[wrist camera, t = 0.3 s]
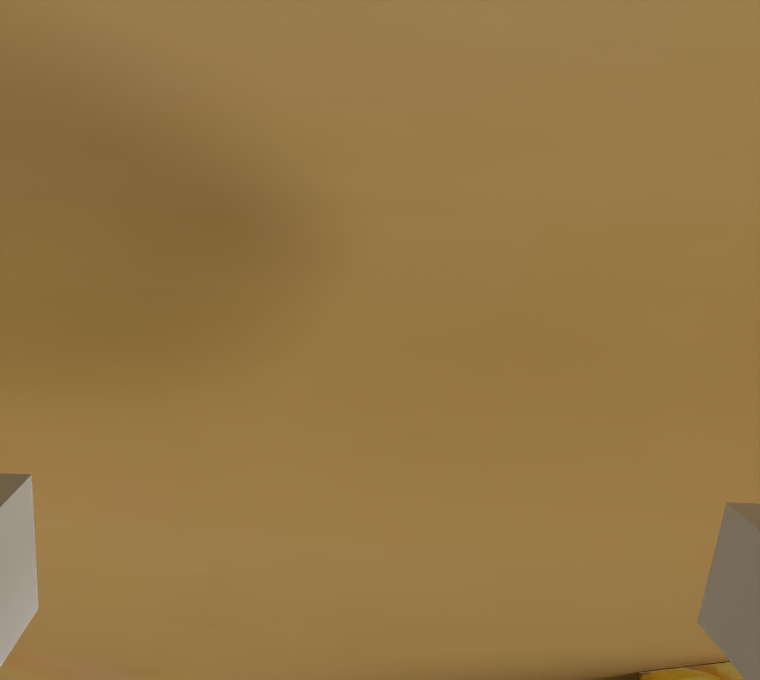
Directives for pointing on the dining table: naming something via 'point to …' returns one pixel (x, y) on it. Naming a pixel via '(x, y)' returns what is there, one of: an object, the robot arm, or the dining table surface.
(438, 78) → the dining table surface
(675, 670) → the beverage box
